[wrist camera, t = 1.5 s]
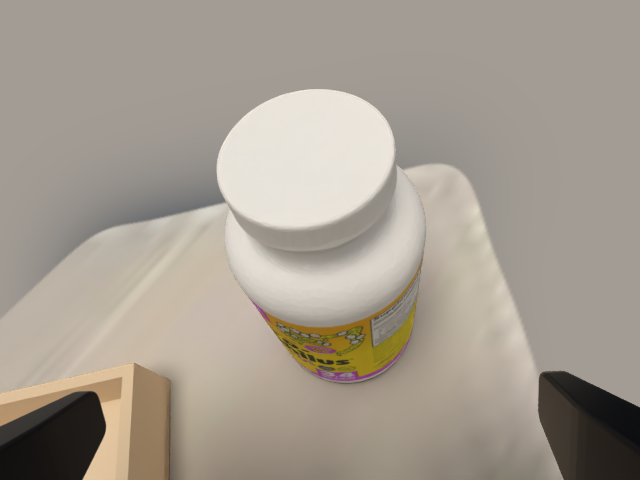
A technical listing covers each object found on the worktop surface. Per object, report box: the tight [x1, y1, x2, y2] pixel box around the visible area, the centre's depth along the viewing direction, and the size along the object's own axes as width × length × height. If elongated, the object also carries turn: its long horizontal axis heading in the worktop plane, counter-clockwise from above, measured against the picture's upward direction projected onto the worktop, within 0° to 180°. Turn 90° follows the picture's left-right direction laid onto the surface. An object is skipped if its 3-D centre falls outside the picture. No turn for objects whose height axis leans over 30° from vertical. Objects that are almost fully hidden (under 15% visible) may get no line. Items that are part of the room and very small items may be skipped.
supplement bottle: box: [217, 89, 426, 383], centre depth 16 cm, size 7×7×13 cm
